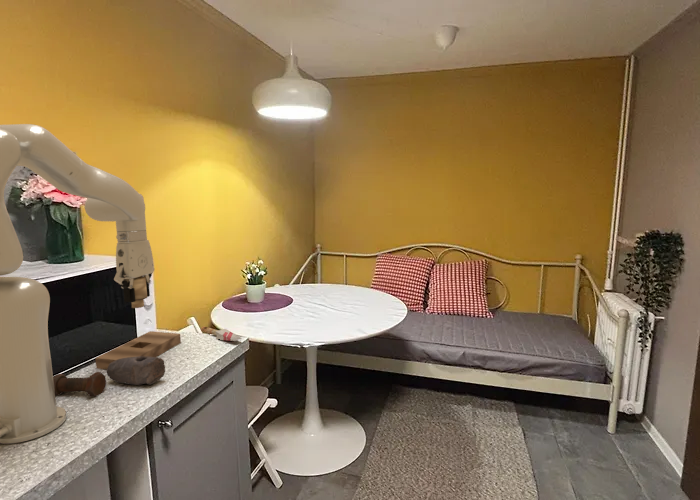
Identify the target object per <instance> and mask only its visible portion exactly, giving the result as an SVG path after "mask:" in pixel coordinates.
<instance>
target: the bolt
mask: <svg viewBox="0 0 700 500" xmlns="http://www.w3.org/2000/svg"><path fill="white" fill-rule="evenodd" d="M105 375H106V374H104V373H102V372H101V371H95V372H94V373H92V374H91V375H89V376H88V377H67V376H66V375H65V374H64V373H58V374H55V375H53V381H54V389H55V396H60V395H62V394H64V393H67V392H68V393H69V392H70V393H72V392H73V393H75V392H76V393H79V392H81V393H83V392H84V393H87V395H88V396H89V397H90V398H96V397H98V396H100V395H102V394H103V393H104V391H105V390H106V387H107V378H106V376H105Z"/></svg>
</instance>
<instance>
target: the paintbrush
mask: <svg viewBox="0 0 700 500" xmlns="http://www.w3.org/2000/svg"><path fill="white" fill-rule="evenodd" d="M200 331H201V332H204V333H206V334H210V335H214V336H216V338H215V340H217V339H220V340H219V341H232V342H236V341H239V340H242V339H243V338H242V337H241V336H239V335H237V334H235V333H234V332H232V331H231V330H229V329H227V328H222V329H219V330H218V329H214V328H211V327H208V326H206V325H205V326H202V327H201V329H200Z"/></svg>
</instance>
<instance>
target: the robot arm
mask: <svg viewBox="0 0 700 500" xmlns="http://www.w3.org/2000/svg"><path fill="white" fill-rule="evenodd" d="M17 167H25V168H28V169H29V170H30V171H31V172H33V173H35V174H36V175H38V176H39V177H41V179H43V180H45V181H46V182H47V183H49V184H50V185H51V186H53V187H54V188H56V190H58V191H60V192H63V193H66V194H69V195H72V196H75V197H81V198H87V199H86V201H85V203H84V211H85V214H87V216H88V217H89V218H90V219H92V220H94V221H97V222H98V221H99V222H115V226H116V227H115V228H116V236H115V237H116V240H117V243H116V247H115V249H116V250H115V267H116V273H115V276H114V278H113V280H114V281H115V282H116V283H118V285H120V288H121V289H122V290H123V299H124V302H125V303H132V302H135V289H134V288H132V287H133V280H134V278H137V277H141V276H145V277H146V287H147V298H148V297H151V295H150V294H151V293H150V292H151V291H150V283H151V278H152V275H153V273H154V272H155V265H154V258H153V257H154V256H153V250H152V247H151V244H150V240H149V239H148V236H147V222H146V203H145V200H144V196H143V195H142V194H141V193H139V191H137V190H136V189H135V188H134V187H133V186H132V185H131V184H129V183H128V182H127V181H126V180H124V179H123V178H120V177H118V176H117V175H114V174H112V173H109V172H107V171H105V170H103V169H101V168H98V167H96V166H93V165H90V164H88V163H86V162H85V161H84V159H81V158H80V157H79V156H78V155H77V154H76V153H75V152H74V151H72V150H71V149H70V148H69V147H68V146H67V145H66V144H65V143H64V142H63V141H61V140H60V139H59V138H58V137H56V136H55V135H54V134H53V133H52V132H51V131H50V130H48V129H46V128H45V127H43V126H41V125H36V124H32V123H20V124H19V123H17V124H16V123H15V124H13V123H12V124H0V444H4V445H5V444H19V443H22V442H28V441H31V440H34V439H37V438H40V437H43V436H45V435H47V434H49V433H51V432H53V431H54V430H56V429H58V428H59V427H60V426H61V425H63V423H64V422H65V421H66V420H67V411H66V409H65V408H63V407H61V406H57V401H56V395H55V389H54V381H53V376H54V375H53V374H54V373H53V367H52V366H53V365H52V358H51V357H52V356H51V350H50V342H49V341H50V340H49V329H48V328H49V326H48V324H49V323H48V321H49V315H50V314H49V313H50V303H51V297H50V293H49V290H48V288H47V287H46V286H45V285H44V284H43V283H41V282H40V281H39V280H36V279H33V278H29V277H22V276H6V275H9V274H11V273H15V272H16V271H18V270H19V269H20V267H21V265H22V264H23V262H24V261H23V260H24V252H23V249H22V246H21V243H20V241H19V240H20V239H19V238H18V234H17V232H16V230H15V227H14V225H13V222H12V220H11V217H10V215H9V212H8V210H7V205H6V202H5V189H6V184H7V183H8V180H9V178H10V177H11V175H12V173H13V172H14V170H15V169H16V168H17ZM127 279H129V282H127Z"/></svg>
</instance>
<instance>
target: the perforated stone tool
mask: <svg viewBox="0 0 700 500" xmlns="http://www.w3.org/2000/svg"><path fill="white" fill-rule="evenodd" d="M165 373H166V365H165V360H164V359H163V358H161V357H159V356H157V357H145V356H138V357H127V358H122V359H118V360H115V361H113V362H111V363H110V364H109V365H108V368H107V370H106V375H107V377H108V379H109V378H110V379H111V381H113V382H116V383H118V384H123V383H124V384H126V385H134V386H141V385H143V384H144V385H145V384H147V385H148V386H149V385H153V384H154V383H156V382H159V381H160V380H161V379H162V378H163V377H164V375H165Z"/></svg>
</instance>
